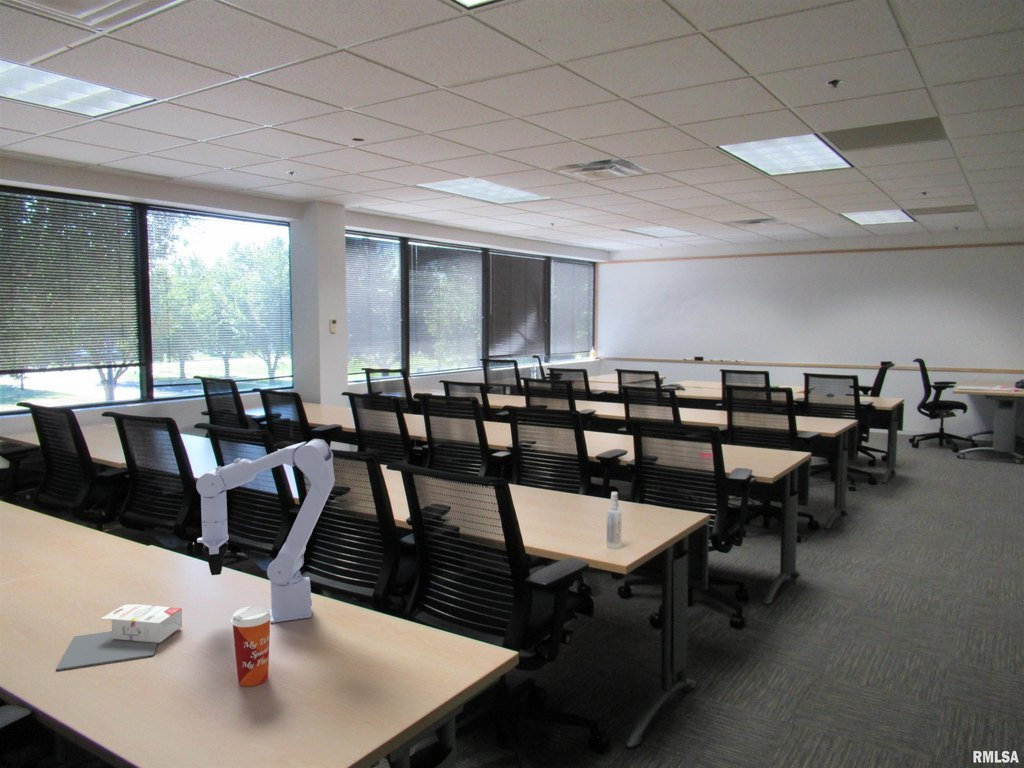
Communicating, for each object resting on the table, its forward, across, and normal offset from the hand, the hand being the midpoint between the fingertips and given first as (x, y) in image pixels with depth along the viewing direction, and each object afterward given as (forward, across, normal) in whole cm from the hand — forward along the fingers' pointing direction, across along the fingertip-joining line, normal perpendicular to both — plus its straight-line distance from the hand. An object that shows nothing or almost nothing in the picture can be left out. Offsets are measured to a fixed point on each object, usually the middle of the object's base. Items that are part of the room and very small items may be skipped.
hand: (216, 574), depth 167 cm
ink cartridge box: (+8, +9, -9) cm, 15 cm away
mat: (+10, +10, -21) cm, 25 cm away
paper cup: (+11, +36, +8) cm, 38 cm away
